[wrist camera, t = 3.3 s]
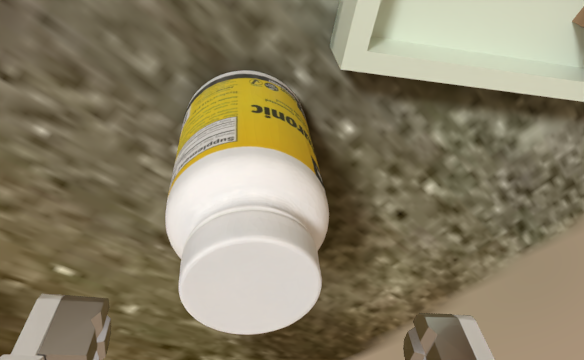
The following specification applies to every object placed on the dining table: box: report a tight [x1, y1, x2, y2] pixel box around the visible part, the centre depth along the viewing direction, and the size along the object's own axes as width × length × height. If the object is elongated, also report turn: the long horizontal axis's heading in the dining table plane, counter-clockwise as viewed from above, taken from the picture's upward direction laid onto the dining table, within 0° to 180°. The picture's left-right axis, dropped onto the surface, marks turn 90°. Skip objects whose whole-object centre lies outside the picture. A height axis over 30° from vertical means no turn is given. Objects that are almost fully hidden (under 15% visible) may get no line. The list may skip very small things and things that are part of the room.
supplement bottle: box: [165, 70, 329, 335], centre depth 16 cm, size 5×5×10 cm
